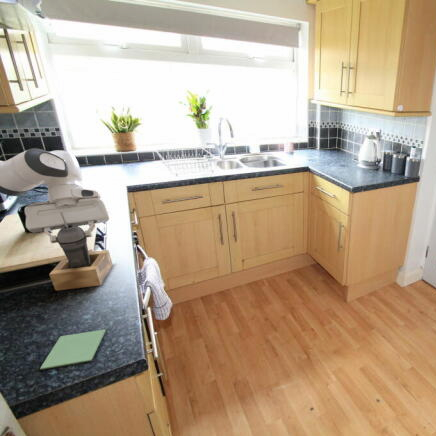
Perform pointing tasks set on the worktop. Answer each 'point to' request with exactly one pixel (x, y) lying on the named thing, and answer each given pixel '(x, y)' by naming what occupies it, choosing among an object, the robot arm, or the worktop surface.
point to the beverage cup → (74, 245)
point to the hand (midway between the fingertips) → (72, 239)
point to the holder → (82, 272)
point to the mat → (74, 349)
